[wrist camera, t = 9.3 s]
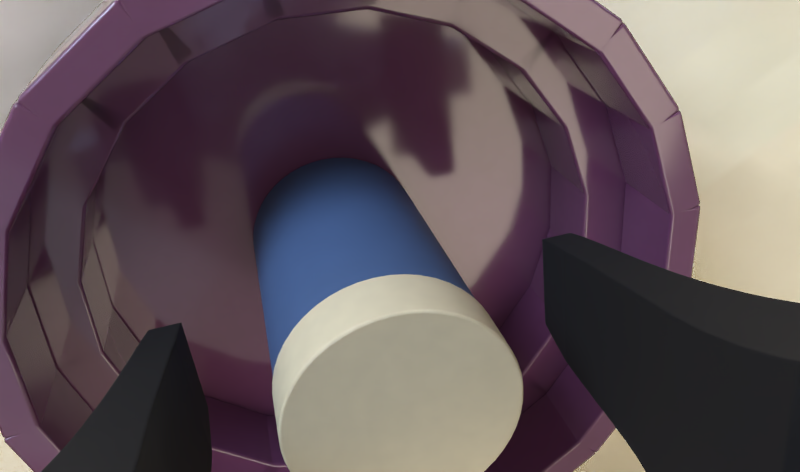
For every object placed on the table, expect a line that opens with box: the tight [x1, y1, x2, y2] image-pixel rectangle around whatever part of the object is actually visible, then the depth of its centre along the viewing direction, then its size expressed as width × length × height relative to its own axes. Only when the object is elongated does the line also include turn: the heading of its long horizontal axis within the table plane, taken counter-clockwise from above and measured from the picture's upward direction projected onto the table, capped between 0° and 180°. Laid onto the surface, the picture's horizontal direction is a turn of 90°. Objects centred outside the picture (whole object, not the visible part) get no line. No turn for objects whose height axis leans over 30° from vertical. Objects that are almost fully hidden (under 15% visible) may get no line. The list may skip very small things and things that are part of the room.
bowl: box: [0, 0, 700, 472], centre depth 17 cm, size 14×14×4 cm
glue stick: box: [253, 158, 523, 472], centre depth 15 cm, size 4×4×7 cm
